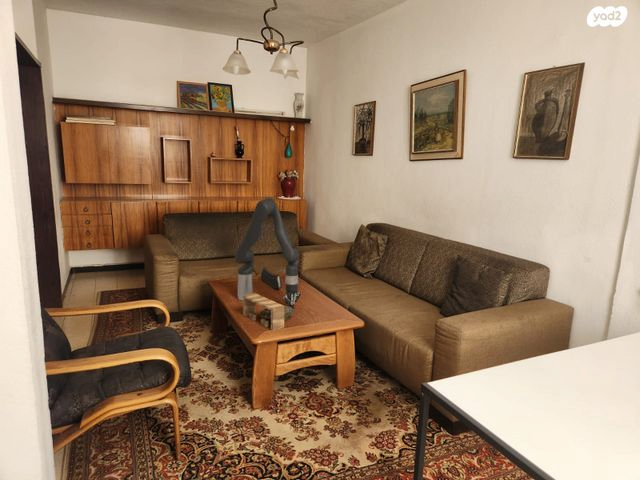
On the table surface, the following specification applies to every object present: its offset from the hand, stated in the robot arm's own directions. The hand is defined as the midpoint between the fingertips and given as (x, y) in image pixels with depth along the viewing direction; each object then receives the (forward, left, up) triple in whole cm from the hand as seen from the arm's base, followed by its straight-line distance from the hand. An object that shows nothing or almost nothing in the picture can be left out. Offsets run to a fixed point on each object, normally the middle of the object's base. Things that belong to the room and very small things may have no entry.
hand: (291, 309), depth 244 cm
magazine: (-51, +22, -2) cm, 55 cm away
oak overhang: (0, -21, -2) cm, 21 cm away
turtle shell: (+1, -12, -2) cm, 13 cm away
